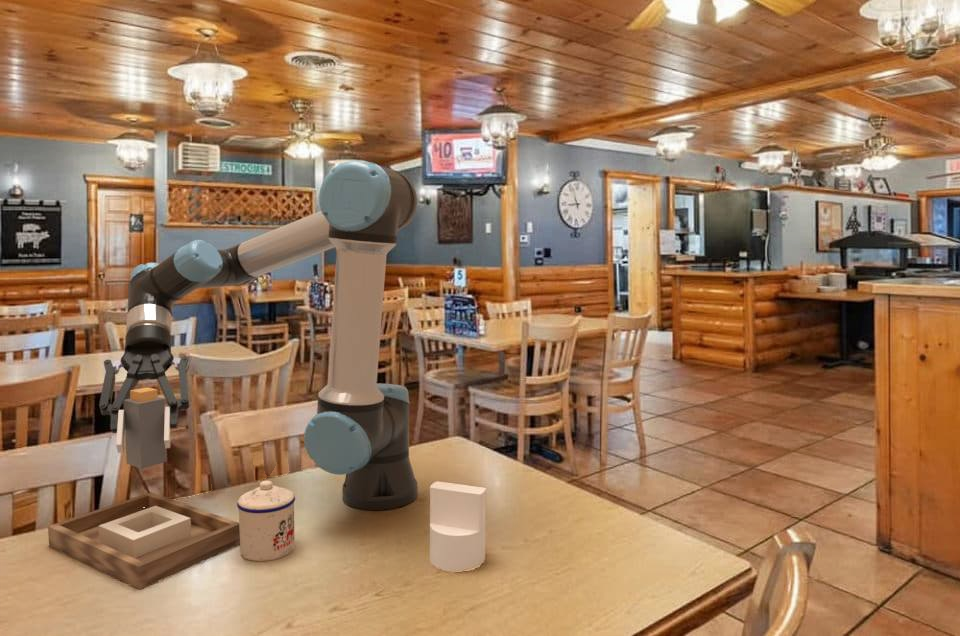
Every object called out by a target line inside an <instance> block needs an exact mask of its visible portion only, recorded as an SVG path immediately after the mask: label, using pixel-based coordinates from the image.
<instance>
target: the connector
mask: <svg viewBox="0 0 960 636" xmlns="http://www.w3.org/2000/svg"><path fill="white" fill-rule="evenodd" d="M158 391H159V390H158V389H156V388H151V387H141V388H137V389H135V388H134V390H130V398H129V399H126V400H124V415H125V437H124V439H125V456H126V457H125V458H126V459H125V460H126V464H127V465H129V466H132V467H135V468H138V469H141V470H142V469H146V468H149V467H153V466H156V465H160V464H163V463H167V462H168V450H167V449H168V448H165V443H164V422H165V407H166V402H165V401H166V399H165V397H159V392H158Z"/></svg>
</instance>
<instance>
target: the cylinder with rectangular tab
mask: <svg viewBox="0 0 960 636" xmlns="http://www.w3.org/2000/svg"><path fill="white" fill-rule="evenodd" d="M486 502H487V488H486V487H480V486H475V485H468V484H467V485H466V484H461V483H460V484H459V483H452V482H444V481H438V480H437V481H434V482H433V483H432V484H431V485H430V487H429V562H430V564H431V566H433V565H434V566H435V567H437V568H439V569H441V570H440V571H442V570H446V571H453V572H454V571H464V570H469V569H472V568H475V567H477V566H479V565H481V563H482V562H484V559H485V560H486V522H487V521H486V519H487V518H486V516H487V515H486V512H487V511H486V509H487V503H486ZM484 563H485V562H484ZM434 566H433V567H434ZM435 567H434V568H435ZM437 568H436V569H437ZM439 569H438V570H439ZM446 571H445V572H446ZM453 572H452V573H453Z"/></svg>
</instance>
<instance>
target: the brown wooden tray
mask: <svg viewBox="0 0 960 636" xmlns="http://www.w3.org/2000/svg"><path fill="white" fill-rule="evenodd" d="M153 506H158V507H161V508H164V509H166V510H169V511H172V512H175V513H178V514H180V515H183V516H186V517H189V518H191V535H190V536H188V537H185V538H183V539H180V540H178V541H175V542H173V543H171V544H168V545H166V546H163V547H161V548H158V549H156V550H153V551H151V552H149V553H146V554H144V555H141V556H139V557H136V558H133V557H130V556H128V555H126V554H124V553H121V552H119V551H117V550H115V549H112V548H110V547H108V546H106V545H103V544H101V543H100V542H99V525H102V524H105V523H108V522H110V521H113V520H116V519H119V518H122V517H125V516H128V515H130V514H133V513H136V512H139V511H142V510H145V509H148V508H151V507H153ZM143 507H145V508H143ZM47 533H48V534H47V535H48V547H50V548H52V549H54V550H57V551H58V552H61V553H63V554H64V555H67V556H69V557H71V558H73V559H75V560H77V561H79V562H82V563H83V564H85V565H87V566H90V567H92V568H93V569H96V570H98V571H100V572H102V573H104V574H106V575H108V576H110V577H112V578H115V579H116V580H118V581H121V582H123V583H125V584H127V585H129V586H131V587H133V588H136V589H137V590H140V591H141V590H142V589H144V588H146V587H149V586H150V585H153V584H156V583H157V581H158V582H160V581H162V580H165V579H166V578H168V576H169V577H171V576H173V575H175V574H177V573H179V572H181V571H184V570H185V569H188V568H190V567H192V566H195V565H197V564H199V563H202V562H204V561H206V560H208V559H210V558H212V557H214V556H216V555H219V554H221V553H223V552H225V551H228V550H230V549H232V548H234V547H237V546H240V529H239V521H237V520H233V519H230V518H227V517H224V516H222V515H218V514H215V513H212V512H209V511H207V510H203V509H201V508H198V507H195V506H192V505H189V504H187V503H183V502H180V501H179V500H174V499H171V498H169V497H166V496H163V495H160V494H156V493H154V492H151V491H150V492H148V493H145V494H142V495H139V496H135V497H132V498H129V499H126V500H124V501H120V502H117V503H115V504H110V505H108V506H105V507H103V508H98V509H95V510H93V511H89V512H87V513H84V514H83V513H82V514H80V515H78V516H75V517H71V518H69V519H65V520H63V521H60V522H56V523H53V524H50V525H48V526H47ZM159 580H160V581H159Z"/></svg>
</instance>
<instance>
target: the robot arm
mask: <svg viewBox="0 0 960 636" xmlns="http://www.w3.org/2000/svg"><path fill="white" fill-rule="evenodd" d="M318 202H319V208H320V209H319V211H317V212H314V213H311V214H309V215H307V216H305V217H302V218H299V219H297V220H295V221H292V222H290V223H288V224H284V225H283V226H281V227H277V228H275V229H273V230H270V231H268V232H266V233H263V234H260V235H258V236H255V237H253V238H251V239H249V240H246V241H243V242H241V243H238V244H236V245H233V246H231V247H229V248H226V249H225V248H224V249H217V248H216V247H215V246H214V245H212V243H207V242H206V241H205V240H202V239H195V240H192V241H190V242H189V243H187V244H185V245H183V246H181V247H180V248H178V249H177V250H176V251H175V252H174V253H173V254H170V256H169V257H167V258H166V259H165V260H163V261H161V263H159V262H147V263H144V264H143V263H141V264H139V265H137V266H135V267H134V268H133V269H132V271H131V273H130V278H129V279H130V280H129V283H128V287H127V288H128V289H127V291H128V294H127V296H128V297H127V298H128V299H127V315H126V326H125V339H124V341H125V342H124V352H123V355H122V356H121V358H120V359H118V360H113V361H112V360H111V359H105V360H104V361H103V366H104V370H105V373H104V374H105V375H104V378H103V384H102V390H101V394H100V399H99V404H98V407H99V409H100V414H101V415H102V416H108V415H109V416H110V425H109V428H110V431H111V433H112V434H116V440H115V443H116V444H115V446H116V450H117V452H118V453H119V454H121V453H124V450H125V415H124V400H126V399H130V390H135V388H136V386H137V385H138V383H139V382H140V381H144V380H153V381H154V380H157V383H158V385H159V387H160V389H161V391H162V392H161V393H163V396H164V397H163V398H164V399H165V401H166V404H167V406H165V422H164V443H165V448H167V449H170V448H171V436H172V435H171V433H172V431H171V430H172V429H177V427H178V424H179V418H178V417H179V412H180V411H181V410H188V409H189V408H190V399H189V389H188V381H187V380H188V378H187V373H188V370H189V368H190V362H189V357H188V356H186V355H183V356H182V357H181V358H180V357H174V355H173V354H172V321H173V320H172V317H173V316H172V315H173V312H172V309H173V305H174V304H175V303H176V302H179V301H180V300H181V299H184V297H186V296H187V295H189V294H190V293H192V292H194V291H196V290H198V289H210V288H218V287H219V288H220V287H221V288H222V287H240V286H244V285H248V284H251V283H252V282H254V281H255V280H256V278H257V277H260V276H262V275H265V274H268V273H270V272H272V271H276V270H278V269H281V268H283V267H286V266H289V265H291V264H293V263H294V264H295V263H297V262H299V261H301V260H304V259H308V258H310V257H312V256H315V255H317V254H320V253H323V252H327V251H329V250H331V249H333V248H335V250H336V257H335V268H334V269H335V270H334V271H335V273H334V286H333V300H332V303H333V304H332V312H331V313H332V314H331V315H332V316H331V327H330V329H331V330H330V332H331V333H330V344H329V360H328V375H327V384H326V385H325V386H324V387H323V388H321V390H320V391H318V394H317V407H316V408H317V409H316V414H315V415H314V416H313V417H312V418H311V419H310V421H308V423H307V425H306V427H305V430H304V434H303V442H304V447H305V451H306V452H307V454H308V457H309V458H310V459H311V460H312V461H313V462H314V463H315V464H316V467H318V468H319V469H321V470H323V471H324V472H327V473H329V474H331V475H332V474H333V475H341V476H342V475H345V478H344V482H343V483H342V489H341V491H342V492H341V493H342V494H341V496H342V501H343V502H344V504H346V505H348V506H350V507H352V508H355V509H359V510H367V511H385V510H391V509H396V508H401V507H404V506H407V505H409V504H411V503H413V502H414V501H415V500H416V499H417V498H418V492H419V491H418V489H419V488H418V486H419V485H418V481H417V479H416V478H415V474H414V470H413V466H412V464H411V459H410V404H411V402H410V398H409V390H408V389H407V387H406V386H404V385H400V384H392V383H381V382H380V383H377V381H378V373H379V372H378V371H379V370H378V369H379V358H380V344H381V333H382V329H381V328H382V319H383V304H384V291H385V281H386V280H385V278H386V265H387V254H388V253H389V252H390V251H392V249H393V248H395V247H396V245H397V239H398V231H400V230H402V229H403V228H405V227H406V226H408V225H409V224H410V222H411V221H412V220H413V218H414V216H416V215H415V214H416V212H417V208H418V196H417V191H416V188H415V187H414V185H413V183H412V181H410V179H409V178H408V177H407V176H406V175H404V174H403V173H402V172H400V171H398V170H395V169H392V168H388V167H385V166H383V165H379V164H377V163H375V162H372V161H371V162H370V161H367V160H364V161H363V160H349V161H344V162H342V163H340V164H338V165H336V166H335V167H334V168H332V169H331V170H330V171H329V172H328V173H327V175H326V176H325V177H324V179H323V181H322V183H321V186H320V188H319V193H318ZM172 365H174V368H175V370H176V371H178V380H179V381H178V383H179V392H180V399H177V398H176V397H175V393H174V391H173V389H172V387H171V384H170V382H169V380H168V377H167V375H166V372H167V371H168V370H169V369H170V368H171V367H172ZM121 368H123V369H124V370H125V371H126V377H125V379H124V381H123V382H122V385H121V387H120V389H119V391H118V393H117V394H116V397H115V399H114V401H113V403H112V400H113V399H112V398H113V395H114V388H115V384H116V375H118V373H119V372H120V369H121ZM416 497H417V498H416ZM415 498H416V499H415ZM413 500H414V501H413Z"/></svg>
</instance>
